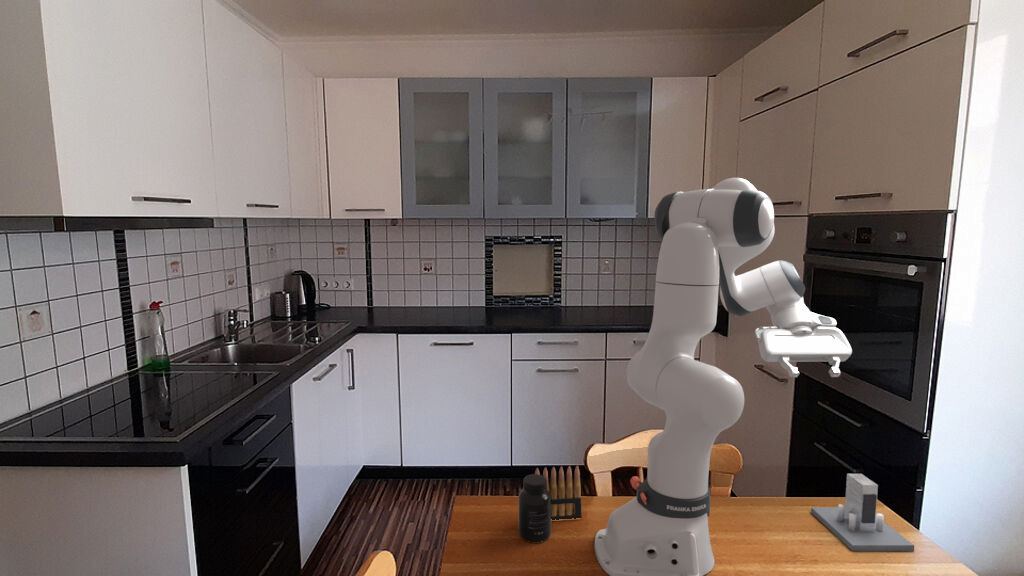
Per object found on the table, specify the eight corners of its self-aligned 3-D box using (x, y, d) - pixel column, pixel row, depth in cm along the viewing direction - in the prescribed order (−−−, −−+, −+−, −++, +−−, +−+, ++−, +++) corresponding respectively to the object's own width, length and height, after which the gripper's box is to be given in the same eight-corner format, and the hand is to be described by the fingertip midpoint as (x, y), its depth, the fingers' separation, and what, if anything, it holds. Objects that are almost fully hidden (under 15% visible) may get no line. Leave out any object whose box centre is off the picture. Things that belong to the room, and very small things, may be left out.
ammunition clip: (579, 515, 113) (580, 463, 112) (581, 519, 111) (582, 467, 110) (532, 518, 112) (532, 466, 110) (533, 523, 110) (533, 470, 109)
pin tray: (852, 551, 100) (853, 529, 99) (811, 512, 114) (812, 493, 113) (913, 551, 100) (915, 529, 99) (865, 512, 114) (866, 493, 113)
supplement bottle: (515, 527, 109) (515, 473, 107) (546, 523, 110) (546, 470, 109) (522, 546, 102) (522, 488, 101) (555, 542, 103) (555, 485, 102)
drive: (860, 532, 104) (863, 485, 103) (844, 518, 109) (847, 473, 108) (875, 532, 104) (878, 485, 103) (858, 518, 109) (861, 473, 108)
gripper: (756, 319, 123) (775, 369, 115) (841, 318, 123) (866, 368, 115) (747, 333, 128) (764, 382, 120) (829, 333, 128) (852, 382, 120)
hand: (815, 375), depth 117 cm, fingers open, 8 cm apart
